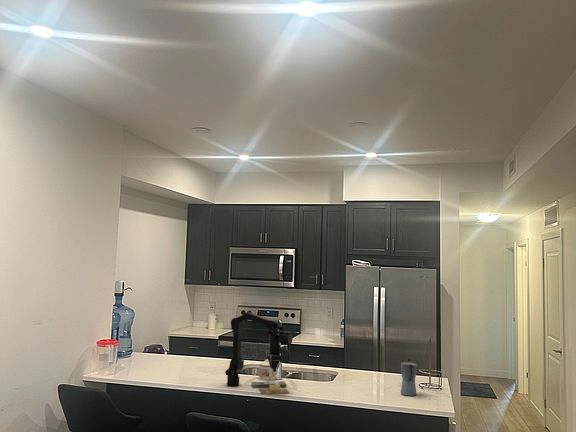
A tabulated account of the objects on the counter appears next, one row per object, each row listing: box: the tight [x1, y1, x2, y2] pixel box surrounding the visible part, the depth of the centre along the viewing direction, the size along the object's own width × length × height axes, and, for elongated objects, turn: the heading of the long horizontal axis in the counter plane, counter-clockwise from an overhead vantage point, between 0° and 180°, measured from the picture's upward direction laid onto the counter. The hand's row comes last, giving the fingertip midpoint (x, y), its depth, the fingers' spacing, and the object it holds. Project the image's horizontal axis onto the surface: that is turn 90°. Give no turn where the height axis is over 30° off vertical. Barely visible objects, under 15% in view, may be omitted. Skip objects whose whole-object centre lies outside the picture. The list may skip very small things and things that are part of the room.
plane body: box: [250, 378, 287, 389], centre depth 318 cm, size 20×7×5 cm, turn 101°
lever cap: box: [267, 383, 280, 392], centre depth 306 cm, size 6×5×4 cm
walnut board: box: [258, 387, 290, 395], centre depth 306 cm, size 16×10×1 cm, turn 101°
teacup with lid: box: [258, 358, 278, 381], centre depth 339 cm, size 12×9×12 cm
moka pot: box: [400, 358, 418, 397], centre depth 310 cm, size 10×15×20 cm, turn 2°
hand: (273, 370), depth 308 cm, fingers open, 9 cm apart
